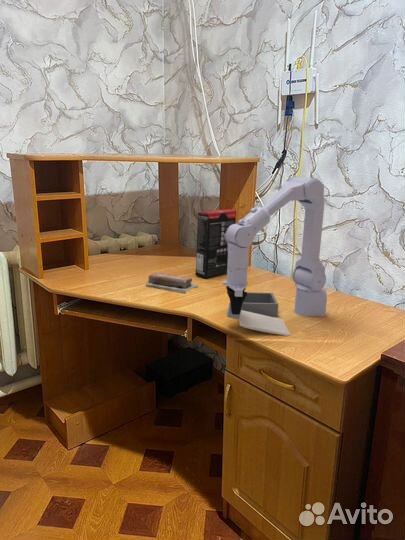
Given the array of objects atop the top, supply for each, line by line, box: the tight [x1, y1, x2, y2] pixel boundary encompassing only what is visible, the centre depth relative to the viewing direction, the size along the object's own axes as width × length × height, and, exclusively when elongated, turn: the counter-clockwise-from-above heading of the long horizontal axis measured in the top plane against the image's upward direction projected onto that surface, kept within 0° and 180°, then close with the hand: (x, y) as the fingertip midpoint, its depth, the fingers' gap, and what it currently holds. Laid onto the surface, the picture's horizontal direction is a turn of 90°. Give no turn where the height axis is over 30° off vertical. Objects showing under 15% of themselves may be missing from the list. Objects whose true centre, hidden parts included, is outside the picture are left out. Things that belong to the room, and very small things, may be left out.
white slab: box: [226, 302, 291, 337], centre depth 123 cm, size 18×11×4 cm, turn 90°
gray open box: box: [242, 291, 279, 318], centre depth 136 cm, size 14×11×5 cm
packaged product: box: [145, 271, 199, 294], centre depth 161 cm, size 18×5×10 cm
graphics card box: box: [195, 208, 237, 279], centre depth 176 cm, size 17×7×27 cm, turn 135°
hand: (235, 312), depth 122 cm, fingers closed on white slab, 2 cm apart
